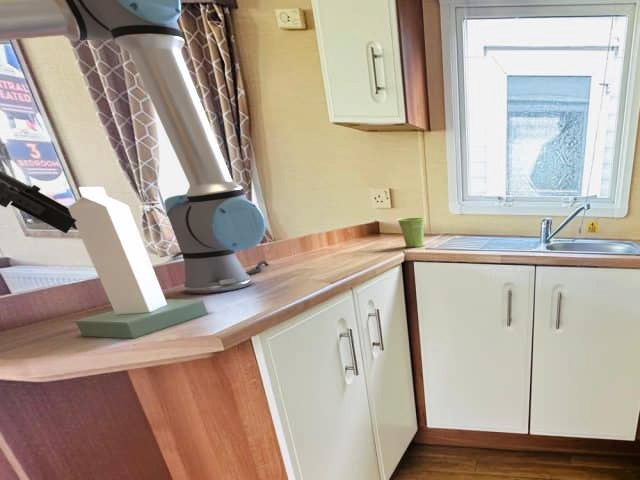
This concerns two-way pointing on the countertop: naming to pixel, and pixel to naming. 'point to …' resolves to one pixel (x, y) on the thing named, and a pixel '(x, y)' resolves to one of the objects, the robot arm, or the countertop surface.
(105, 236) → the milk
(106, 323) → the sage green flat tile
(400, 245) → the countertop surface
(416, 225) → the plant pot
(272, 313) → the countertop surface
